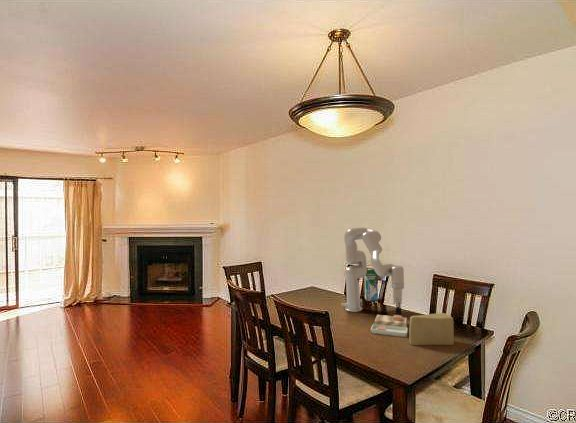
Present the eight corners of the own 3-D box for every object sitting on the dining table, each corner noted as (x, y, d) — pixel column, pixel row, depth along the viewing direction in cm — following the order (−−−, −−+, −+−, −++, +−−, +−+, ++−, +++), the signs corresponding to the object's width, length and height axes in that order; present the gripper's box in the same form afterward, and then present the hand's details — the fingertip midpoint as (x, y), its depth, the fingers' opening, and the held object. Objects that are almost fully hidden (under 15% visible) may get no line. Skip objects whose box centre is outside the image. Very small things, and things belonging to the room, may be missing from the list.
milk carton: (376, 298, 271) (375, 267, 271) (377, 300, 262) (377, 269, 262) (364, 298, 272) (364, 267, 272) (366, 300, 263) (365, 269, 263)
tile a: (378, 326, 197) (378, 329, 197) (377, 328, 193) (377, 331, 193) (386, 326, 195) (386, 330, 195) (385, 329, 191) (385, 332, 191)
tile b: (393, 320, 201) (393, 317, 201) (394, 318, 205) (394, 314, 205) (401, 321, 199) (401, 317, 199) (401, 318, 203) (401, 315, 203)
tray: (370, 333, 193) (370, 329, 193) (373, 327, 202) (373, 323, 202) (406, 337, 185) (406, 333, 185) (407, 331, 194) (407, 327, 194)
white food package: (374, 327, 202) (374, 320, 202) (377, 321, 213) (377, 314, 213) (405, 331, 195) (405, 323, 195) (407, 324, 206) (406, 317, 206)
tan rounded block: (414, 348, 170) (413, 319, 170) (406, 341, 180) (405, 313, 180) (454, 345, 172) (454, 317, 172) (444, 338, 182) (443, 311, 182)
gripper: (392, 282, 218) (393, 310, 218) (390, 287, 204) (391, 317, 204) (404, 283, 215) (405, 311, 215) (403, 288, 201) (404, 318, 201)
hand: (398, 314), depth 209 cm, fingers closed
